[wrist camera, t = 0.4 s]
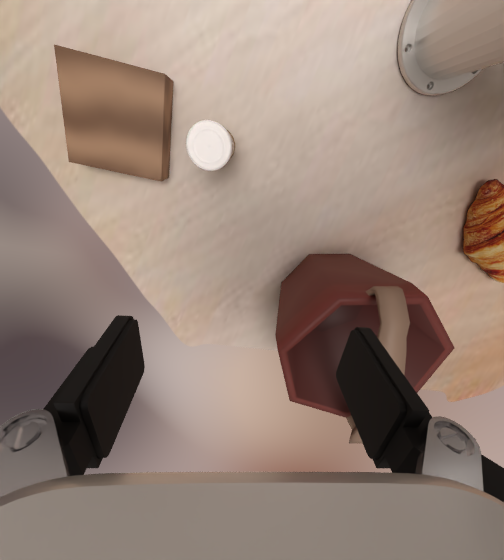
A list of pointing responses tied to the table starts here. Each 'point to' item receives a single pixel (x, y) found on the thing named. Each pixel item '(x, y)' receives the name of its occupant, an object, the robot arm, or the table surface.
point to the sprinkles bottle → (209, 145)
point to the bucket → (351, 327)
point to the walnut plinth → (115, 114)
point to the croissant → (487, 230)
